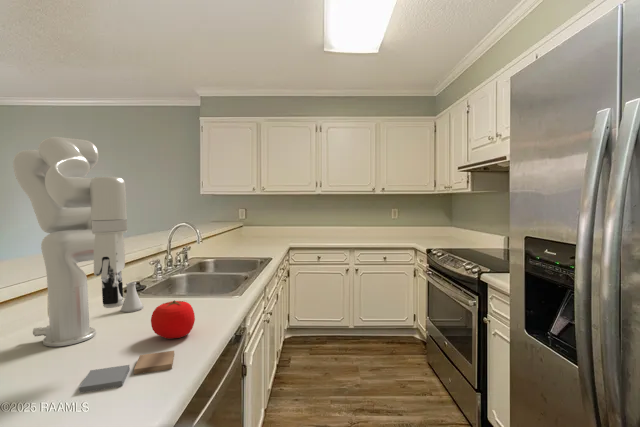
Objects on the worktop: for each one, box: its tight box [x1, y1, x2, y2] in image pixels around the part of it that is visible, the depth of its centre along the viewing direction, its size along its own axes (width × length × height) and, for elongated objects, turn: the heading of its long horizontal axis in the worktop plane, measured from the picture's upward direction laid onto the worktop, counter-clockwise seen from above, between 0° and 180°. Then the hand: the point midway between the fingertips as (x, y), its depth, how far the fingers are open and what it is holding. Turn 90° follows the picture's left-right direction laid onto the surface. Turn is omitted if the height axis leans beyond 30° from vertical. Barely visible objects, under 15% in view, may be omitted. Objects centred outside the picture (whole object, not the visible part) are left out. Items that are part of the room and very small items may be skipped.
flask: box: [120, 281, 144, 313], centre depth 132 cm, size 7×7×10 cm
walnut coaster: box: [133, 350, 175, 375], centre depth 87 cm, size 8×8×1 cm
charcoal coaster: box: [78, 364, 131, 394], centre depth 80 cm, size 8×8×1 cm
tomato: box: [150, 300, 196, 339], centre depth 105 cm, size 12×12×10 cm
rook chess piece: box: [102, 273, 124, 309], centre depth 89 cm, size 4×4×8 cm
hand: (113, 300), depth 89 cm, fingers closed on rook chess piece, 4 cm apart
